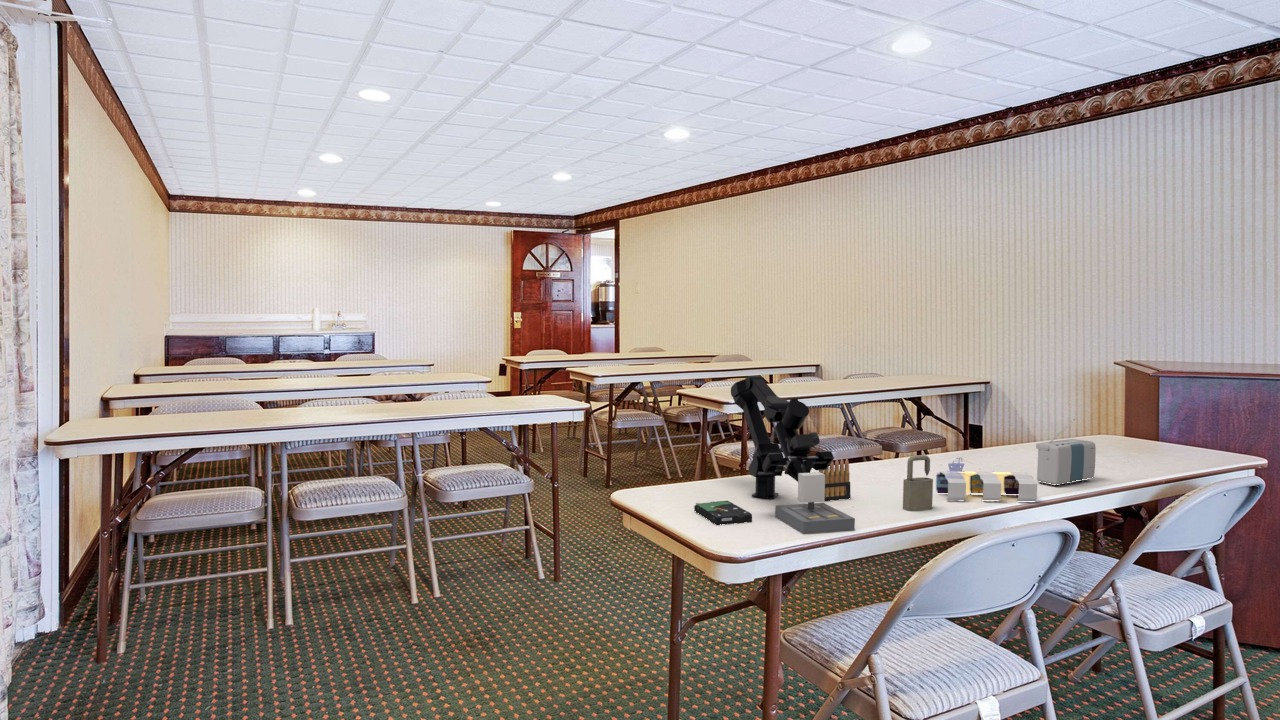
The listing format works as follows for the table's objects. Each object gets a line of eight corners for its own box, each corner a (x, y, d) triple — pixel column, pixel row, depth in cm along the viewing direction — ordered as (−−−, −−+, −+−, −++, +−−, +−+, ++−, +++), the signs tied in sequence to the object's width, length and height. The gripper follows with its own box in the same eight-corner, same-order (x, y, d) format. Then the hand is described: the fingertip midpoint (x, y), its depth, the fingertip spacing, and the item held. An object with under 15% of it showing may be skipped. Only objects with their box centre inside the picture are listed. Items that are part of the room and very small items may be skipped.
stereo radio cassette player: (1057, 488, 233) (1059, 425, 231) (1032, 483, 240) (1034, 421, 239) (1095, 481, 243) (1098, 421, 242) (1070, 476, 250) (1073, 417, 249)
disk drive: (753, 524, 192) (727, 509, 206) (753, 513, 191) (727, 499, 205) (716, 527, 188) (693, 512, 202) (716, 517, 188) (693, 502, 202)
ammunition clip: (846, 497, 219) (847, 457, 218) (850, 498, 217) (851, 458, 216) (816, 500, 215) (816, 459, 214) (819, 501, 213) (820, 460, 212)
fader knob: (797, 508, 193) (798, 473, 192) (818, 507, 194) (819, 472, 194) (803, 511, 190) (803, 475, 189) (824, 509, 191) (825, 474, 191)
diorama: (947, 503, 214) (948, 458, 213) (935, 494, 224) (936, 451, 224) (1036, 504, 213) (1038, 459, 212) (1020, 496, 223) (1021, 453, 222)
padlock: (934, 509, 206) (935, 455, 205) (910, 511, 203) (912, 457, 202) (924, 505, 209) (925, 453, 208) (900, 508, 206) (902, 454, 206)
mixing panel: (775, 516, 196) (775, 505, 196) (822, 513, 200) (823, 502, 200) (803, 533, 181) (803, 521, 181) (854, 530, 185) (854, 517, 184)
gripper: (767, 423, 195) (785, 472, 185) (831, 421, 200) (852, 469, 190) (754, 447, 203) (771, 496, 193) (816, 445, 208) (835, 493, 198)
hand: (808, 488), depth 193 cm, fingers closed, pressing on fader knob
